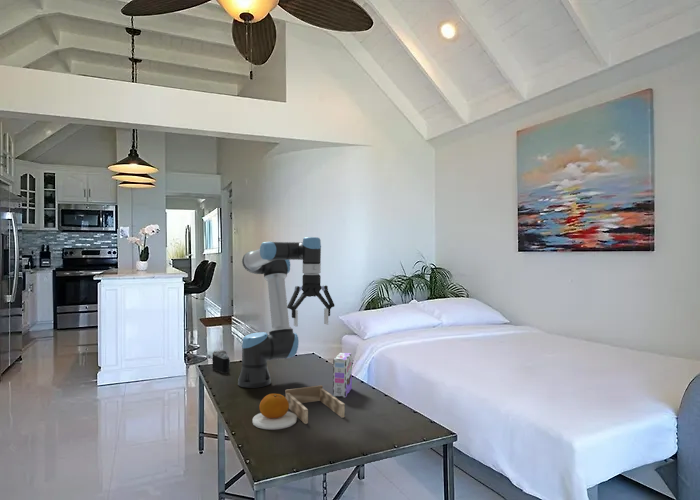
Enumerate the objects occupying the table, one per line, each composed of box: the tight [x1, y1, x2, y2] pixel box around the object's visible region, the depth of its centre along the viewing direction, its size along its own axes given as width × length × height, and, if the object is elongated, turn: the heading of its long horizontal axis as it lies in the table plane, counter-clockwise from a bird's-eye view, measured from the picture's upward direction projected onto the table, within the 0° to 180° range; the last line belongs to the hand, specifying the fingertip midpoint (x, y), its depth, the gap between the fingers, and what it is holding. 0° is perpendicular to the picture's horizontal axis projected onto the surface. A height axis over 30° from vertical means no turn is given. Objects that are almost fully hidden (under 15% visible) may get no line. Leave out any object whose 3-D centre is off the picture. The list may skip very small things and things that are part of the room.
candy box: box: [332, 352, 353, 398], centre depth 203 cm, size 14×6×16 cm, turn 168°
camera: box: [212, 349, 231, 374], centre depth 242 cm, size 15×7×10 cm, turn 41°
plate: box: [252, 410, 298, 431], centre depth 168 cm, size 16×16×1 cm
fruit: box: [258, 393, 290, 418], centre depth 169 cm, size 10×10×8 cm
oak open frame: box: [284, 384, 346, 425], centre depth 180 cm, size 23×16×6 cm
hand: (311, 325), depth 191 cm, fingers open, 13 cm apart
